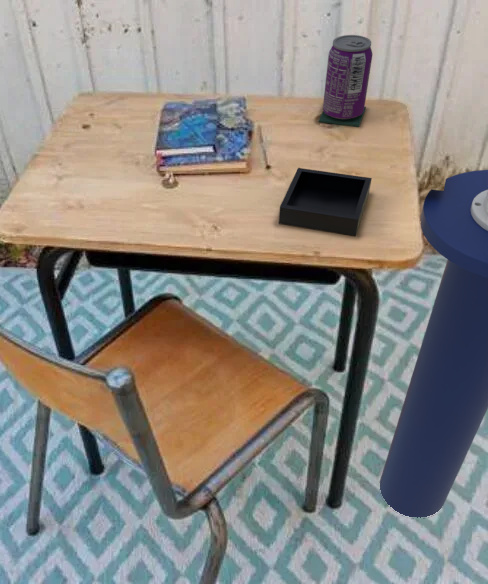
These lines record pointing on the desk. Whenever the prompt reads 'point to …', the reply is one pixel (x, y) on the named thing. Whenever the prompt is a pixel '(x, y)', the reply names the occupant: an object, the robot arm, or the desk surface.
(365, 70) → the beverage can
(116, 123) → the desk surface
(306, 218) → the black square tray
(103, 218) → the desk surface
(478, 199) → the robot arm
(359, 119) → the rubber mat
